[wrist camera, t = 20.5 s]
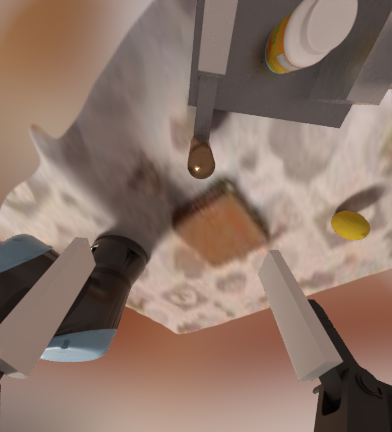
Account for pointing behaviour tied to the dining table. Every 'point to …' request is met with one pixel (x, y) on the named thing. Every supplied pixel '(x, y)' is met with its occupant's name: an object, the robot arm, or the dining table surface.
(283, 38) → the supplement bottle
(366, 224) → the lemon
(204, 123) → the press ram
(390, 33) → the grey frame
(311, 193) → the dining table surface
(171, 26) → the dining table surface
